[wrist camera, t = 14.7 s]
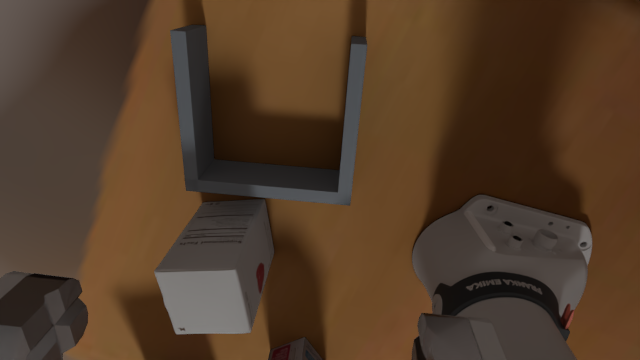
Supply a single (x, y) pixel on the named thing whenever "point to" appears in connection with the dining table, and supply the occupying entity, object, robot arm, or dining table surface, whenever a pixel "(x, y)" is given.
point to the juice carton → (295, 351)
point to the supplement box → (218, 268)
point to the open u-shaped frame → (245, 175)
